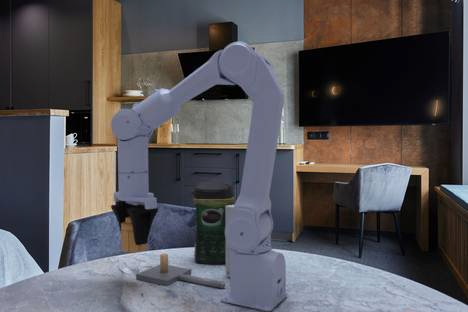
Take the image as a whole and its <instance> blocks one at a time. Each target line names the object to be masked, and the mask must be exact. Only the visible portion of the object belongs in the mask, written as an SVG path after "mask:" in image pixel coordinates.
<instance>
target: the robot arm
mask: <svg viewBox="0 0 468 312" xmlns="http://www.w3.org/2000/svg"><path fill="white" fill-rule="evenodd" d="M216 85H221V86H223V85H227V86H229V85H230V86H235V85H238V86H239V87H240V88H241V89H242V90H243V91H244V93H245V94H246V96H247V97H248V98H249V99H250V100H251V101H252V103H253V105H252V113H251V118H250V126H249V130H248V138H247V145H246V151H245V158H244V165H243V170H242V171H243V173H242V180H241V185H240V193H239V195H238V197H237V199H236V201H235V202H234V204H233V205H234V209H233V214H232V216H231V218H230V219H229V221H228V222H227V224H226V227H225V238H226V240H227V242H228V244H229V245H230V277H229V292H228V293H225V294H224V295H223V296H221V297H220V301H221V302H224V303H227V304H232V305H237V306H241V307H245V308H251V309H255V310H259V311H265V312H271V311H272V310H274V308H275V307H277V306H278V305H279V304H280V303H281V302H282V301H283V300H285V299H286V298H287V297H288V293H287V292H286V291H287V290H286V288H287V286H286V283H287V282H286V281H287V280H286V278H287V277H286V273H287V272H286V271H287V269H286V267H287V266H286V265H287V264H286V259H285V255H284V254H283V253H282V252H279V251H276V250H273V249H272V243H271V244H270V242H269V240H268V238H267V237H268V236H269V235H270V234H271V235H272V233H273V229H274V220H273V216H272V212H271V210H272V201H271V198H270V193H271V188H272V180H273V174H274V166H275V161H276V160H275V159H276V155H277V154H276V153H277V149H278V148H277V147H278V141H279V136H280V129H281V124H282V123H281V122H282V116H283V109H284V104H285V94H284V90H283V88H282V85H281V84H280V82H279V79H278V77H277V74H276V73H275V69H274V66H273V64H272V63H270V62H269V61H268V60H267V59H266V58H265V57H264V56H263V55H262V54H260V53H259V52H257V51H255V49H254V48H252V46H250V45H249V44H248V43H246V42H243V41H234V42H231V43H229V44H227V46H225V47H224V49H220V50H218V51H216V52H215V53H214V54H213V55H212V56H211V57H210V58H209V59H208V60H207V61H206V62H205V63H203V64H202V65H201V66H200V67H198V68H197V69H195V70H194V71H193V72H192V73H190V74H189V75H188V76H187V77H185V78H184V79H182V80H181V81H179V83H178V84H176V85H174V86H173V87H172V88H170V89H167V88H163V87H162V88H159V89H158V88H154V89H152V90H151V91H150V95H149V96H148V97H146V98H144V99H143V100H142V101H140V102H139V103H138V102H136V103H134V104H132V108H131V109H128V108H121V109H119V110H118V111H117V112H115V114H114V115H113V116H112V119H111V122H110V127H111V132H112V134H113V135H114V137H116V138H117V172H118V175H117V176H118V178H117V179H118V180H117V181H118V191H113V202H115V203H116V202H118V203H117V204H112V205H111V204H110V205H111V206H110V209H111V210H112V212H113V214H114V215H115V218H116V220H117V223H118V227H119V231H120V232H121V223H122V222H125V218H126V217H130V219H131V222H132V226H133V233H134V240H135V244H136V245H142V244H147V245H148V241H149V236H150V232H151V228H152V224H153V222H154V219H155V218H156V215H157V214H158V212H159V208H158V206H157V205H158V202H157V201H158V200H157V199H158V198H157V197H154V196H155V194H154V193H153V192H149V191H150V190H149V187H150V186H149V145H150V142H149V141H150V138H151V136H152V135H153V132H154V130H156V129H157V128H159V127H161V126H162V125H164V124H166V123H167V122H169V121H170V120H172V119H173V118H175V117H176V116H178V115H179V114H180V111H181V106H182V105H183V104H185V103H187V102H188V101H190V100H192V99H194V98H195V97H197V96H198V95H200V94H203V92H206V91H207V90H210V88H212V87H214V86H216Z"/></svg>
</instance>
